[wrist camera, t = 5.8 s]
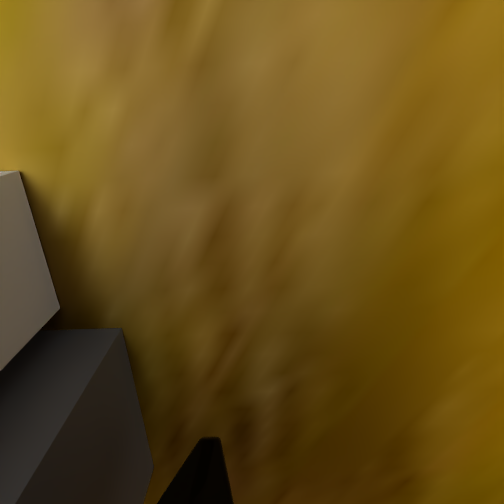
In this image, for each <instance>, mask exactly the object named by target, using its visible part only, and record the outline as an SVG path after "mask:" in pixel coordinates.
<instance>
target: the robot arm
mask: <svg viewBox="0 0 504 504" xmlns="http://www.w3.org/2000/svg"><path fill="white" fill-rule="evenodd" d="M157 504H234V502H233V497H232V492H231V488H230V483H229V478H228V473H227V468H226V463H225V458H224V454H223V449H222V444H221V440H220V438H219V437H202V438H201V439H200V440H199V441H198V443H197V444H196V446H195V447H194V449H193V450H192V452H191V453H190V455H189V456H188V458H187V459H186V461H185V462H184V464H183V465H182V467H181V468H180V470H179V471H178V473H177V474H176V476H175V477H174V479H173V480H172V482H171V483H170V485H169V486H168V488H167V489H166V491H165V492H164V494H163V495H162V497H161V498H160V500H159V501H158V503H157Z"/></svg>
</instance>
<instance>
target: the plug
mask: <svg viewBox="0 0 504 504" xmlns="http://www.w3.org/2000/svg"><path fill="white" fill-rule="evenodd" d="M153 468H154V465H153V461H152V456H151V452H150V448H149V444H148V439H147V435H146V431H145V426H144V422H143V418H142V414H141V409H140V405H139V401H138V396H137V392H136V388H135V383H134V379H133V375H132V371H131V366H130V362H129V358H128V353H127V349H126V345H125V340H124V336H123V332H122V328H105V329H71V330H39V331H38V332H37V333H36V334H35V335H34V336H33V337H32V338H31V339H30V340H29V342H28V343H27V344H26V345H25V346H24V347H23V348H22V349H21V350H20V351H19V352H18V353H17V354H16V355H15V356H14V357H13V358H12V359H11V360H10V361H9V362H8V364H7V365H6V366H5V367H4V368H3V369H2V370H1V371H0V504H143V503H144V499H145V496H146V493H147V489H148V486H149V482H150V479H151V475H152V472H153Z"/></svg>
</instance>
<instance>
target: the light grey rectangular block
mask: <svg viewBox="0 0 504 504" xmlns="http://www.w3.org/2000/svg"><path fill="white" fill-rule="evenodd" d="M59 309H60V306H59V303H58V299H57V296H56V293H55V289H54V286H53V283H52V279H51V276H50V273H49V269H48V266H47V263H46V259H45V256H44V253H43V249H42V246H41V243H40V239H39V236H38V233H37V230H36V226H35V223H34V220H33V216H32V213H31V210H30V206H29V203H28V200H27V196H26V193H25V190H24V186H23V183H22V180H21V176H20V173H19V171H1V172H0V371H1V370H2V369H3V368H4V367H5V366H6V365H7V364H8V362H9V361H10V360H11V359H12V358H13V357H14V356H15V355H16V354H17V353H18V352H19V351H20V350H21V349H22V348H23V347H24V346H25V345H26V344H27V343H28V342H29V340H30V339H31V338H32V337H33V336H34V335H35V334H36V333H37V332H38V331H39V330H40V329H41V328H42V327H43V326H44V325H45V324H46V323H47V322H48V321H49V319H50V318H51V317H52V316H53V315H54V314H55V313H56V312H57V311H58V310H59Z"/></svg>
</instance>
